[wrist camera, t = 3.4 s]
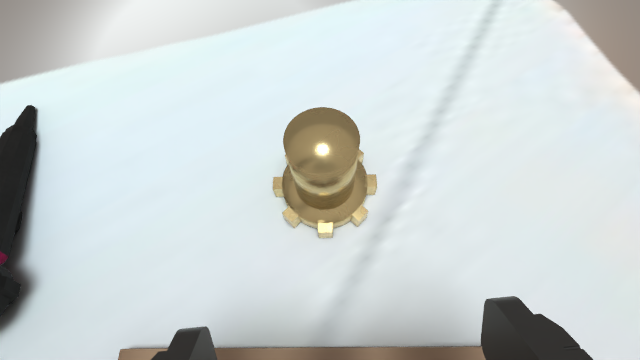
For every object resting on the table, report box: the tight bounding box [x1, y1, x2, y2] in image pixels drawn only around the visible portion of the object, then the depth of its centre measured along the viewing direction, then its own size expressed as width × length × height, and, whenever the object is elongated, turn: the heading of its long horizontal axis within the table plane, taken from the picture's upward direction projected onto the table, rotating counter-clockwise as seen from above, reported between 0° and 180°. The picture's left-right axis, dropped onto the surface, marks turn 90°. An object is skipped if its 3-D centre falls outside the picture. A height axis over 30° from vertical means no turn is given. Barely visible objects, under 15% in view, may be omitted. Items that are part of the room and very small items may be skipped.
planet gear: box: [273, 107, 377, 238], centre depth 22 cm, size 8×8×8 cm
